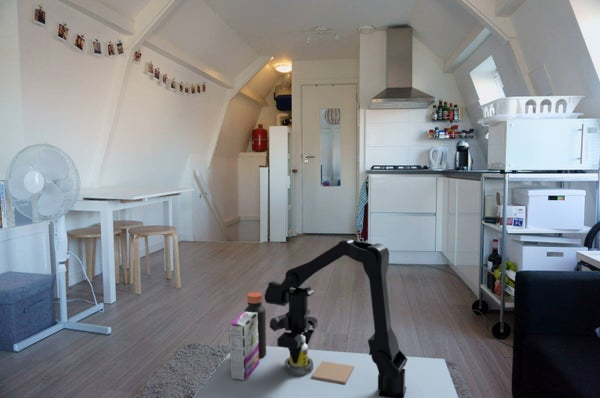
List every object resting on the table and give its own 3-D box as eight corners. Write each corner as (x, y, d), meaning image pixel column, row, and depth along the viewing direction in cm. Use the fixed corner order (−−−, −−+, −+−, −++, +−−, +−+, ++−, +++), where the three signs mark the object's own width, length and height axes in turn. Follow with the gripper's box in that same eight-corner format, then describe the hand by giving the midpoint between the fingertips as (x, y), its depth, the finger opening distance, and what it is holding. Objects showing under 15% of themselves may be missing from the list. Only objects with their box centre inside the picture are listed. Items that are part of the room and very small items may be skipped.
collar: (316, 364, 129) (316, 358, 129) (307, 377, 121) (307, 370, 121) (290, 360, 132) (290, 354, 132) (280, 372, 124) (280, 366, 124)
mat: (353, 368, 127) (353, 366, 126) (345, 384, 117) (345, 381, 117) (322, 362, 130) (322, 361, 130) (311, 377, 121) (311, 375, 121)
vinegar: (269, 352, 138) (268, 292, 136) (260, 361, 132) (259, 298, 130) (251, 349, 140) (250, 290, 139) (241, 357, 134) (240, 296, 133)
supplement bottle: (305, 373, 123) (305, 341, 123) (287, 372, 124) (287, 340, 124) (309, 365, 129) (309, 334, 128) (291, 363, 130) (291, 332, 129)
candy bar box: (244, 362, 131) (243, 310, 130) (259, 364, 130) (258, 312, 129) (229, 379, 120) (228, 323, 119) (245, 381, 119) (244, 325, 118)
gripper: (285, 296, 137) (286, 343, 138) (260, 315, 119) (260, 368, 120) (317, 300, 133) (318, 348, 134) (296, 320, 115) (297, 374, 116)
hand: (298, 358), depth 126 cm, fingers closed on supplement bottle, 5 cm apart
